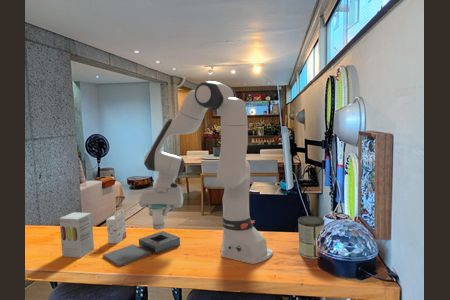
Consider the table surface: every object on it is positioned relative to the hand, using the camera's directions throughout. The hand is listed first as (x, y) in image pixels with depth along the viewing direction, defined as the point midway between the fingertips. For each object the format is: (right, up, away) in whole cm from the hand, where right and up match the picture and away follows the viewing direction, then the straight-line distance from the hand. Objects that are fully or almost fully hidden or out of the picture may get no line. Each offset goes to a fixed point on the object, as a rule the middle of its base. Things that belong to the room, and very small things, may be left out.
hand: (157, 215), depth 138 cm
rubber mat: (-11, -16, -7) cm, 21 cm away
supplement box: (-34, -16, -2) cm, 38 cm away
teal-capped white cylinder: (0, -6, +1) cm, 6 cm away
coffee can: (+65, -13, -12) cm, 67 cm away
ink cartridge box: (-22, -15, +11) cm, 28 cm away
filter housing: (0, -14, +2) cm, 14 cm away
